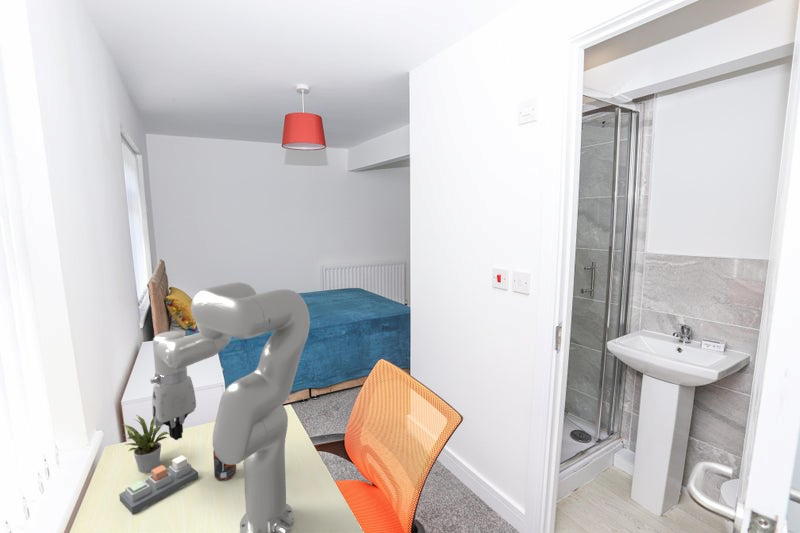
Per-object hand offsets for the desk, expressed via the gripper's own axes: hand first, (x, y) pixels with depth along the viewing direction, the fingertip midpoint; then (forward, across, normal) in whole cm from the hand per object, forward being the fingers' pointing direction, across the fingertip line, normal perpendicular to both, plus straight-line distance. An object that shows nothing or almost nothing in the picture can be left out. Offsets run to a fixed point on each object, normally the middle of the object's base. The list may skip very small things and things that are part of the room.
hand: (176, 437), depth 113 cm
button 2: (+10, -5, 0) cm, 11 cm away
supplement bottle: (+13, +9, -9) cm, 18 cm away
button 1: (+11, -11, 0) cm, 15 cm away
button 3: (+9, 0, 0) cm, 10 cm away
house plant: (+13, -1, +13) cm, 18 cm away
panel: (+13, -5, 0) cm, 14 cm away
